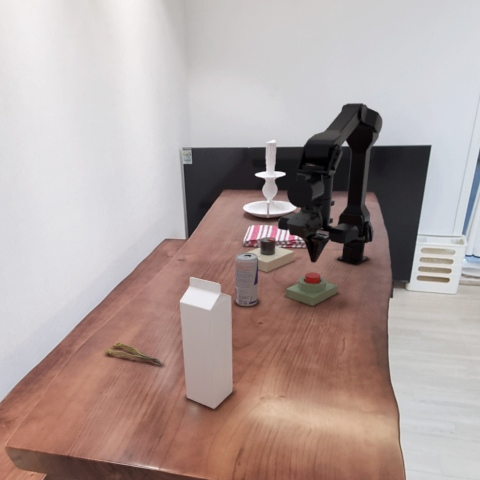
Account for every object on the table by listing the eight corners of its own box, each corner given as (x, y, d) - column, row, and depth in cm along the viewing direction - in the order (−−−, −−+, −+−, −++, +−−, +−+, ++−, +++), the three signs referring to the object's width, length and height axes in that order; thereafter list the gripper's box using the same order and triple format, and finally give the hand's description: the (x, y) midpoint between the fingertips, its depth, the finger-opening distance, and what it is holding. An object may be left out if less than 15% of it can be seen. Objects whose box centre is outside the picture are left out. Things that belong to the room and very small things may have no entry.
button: (310, 277, 117) (311, 271, 116) (322, 281, 115) (323, 274, 114) (301, 281, 115) (302, 275, 114) (314, 285, 113) (314, 279, 112)
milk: (205, 381, 86) (200, 270, 76) (233, 392, 83) (231, 276, 73) (185, 398, 82) (177, 282, 72) (214, 410, 79) (209, 290, 69)
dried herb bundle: (157, 368, 91) (156, 360, 90) (104, 357, 97) (102, 349, 96) (168, 358, 94) (167, 349, 93) (116, 347, 100) (114, 339, 99)
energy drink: (259, 298, 116) (260, 253, 111) (254, 308, 112) (255, 260, 106) (238, 296, 118) (238, 251, 112) (233, 305, 114) (232, 259, 108)
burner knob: (257, 252, 137) (257, 238, 135) (266, 249, 139) (267, 235, 137) (268, 256, 134) (268, 241, 132) (278, 252, 136) (278, 238, 134)
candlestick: (239, 225, 173) (239, 145, 159) (245, 208, 194) (245, 136, 181) (296, 225, 169) (300, 144, 156) (295, 208, 190) (299, 134, 177)
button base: (310, 284, 122) (311, 270, 120) (336, 293, 117) (338, 278, 115) (285, 296, 117) (286, 281, 115) (312, 306, 111) (313, 290, 109)
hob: (267, 253, 145) (268, 243, 143) (293, 260, 138) (294, 250, 136) (241, 263, 138) (241, 253, 137) (266, 272, 131) (267, 261, 130)
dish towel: (316, 248, 146) (316, 237, 145) (242, 247, 151) (242, 236, 150) (315, 232, 161) (315, 222, 160) (247, 231, 166) (247, 221, 164)
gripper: (263, 198, 107) (262, 262, 114) (333, 211, 94) (327, 282, 102) (293, 189, 113) (290, 250, 121) (363, 200, 101) (355, 268, 108)
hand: (313, 262), depth 113 cm, fingers closed
